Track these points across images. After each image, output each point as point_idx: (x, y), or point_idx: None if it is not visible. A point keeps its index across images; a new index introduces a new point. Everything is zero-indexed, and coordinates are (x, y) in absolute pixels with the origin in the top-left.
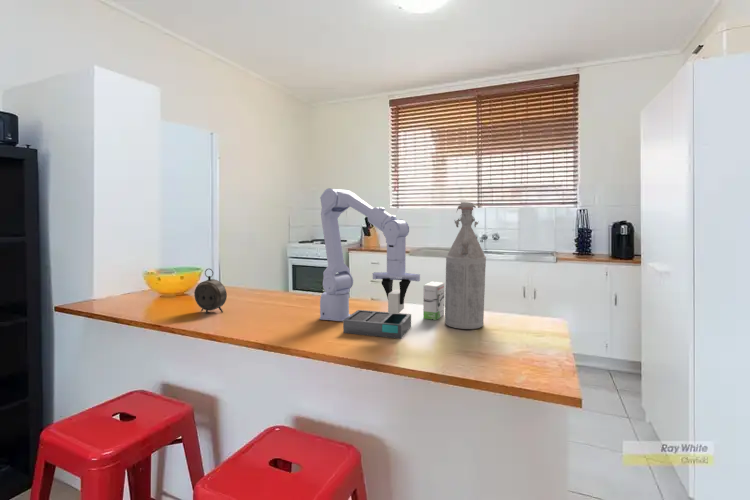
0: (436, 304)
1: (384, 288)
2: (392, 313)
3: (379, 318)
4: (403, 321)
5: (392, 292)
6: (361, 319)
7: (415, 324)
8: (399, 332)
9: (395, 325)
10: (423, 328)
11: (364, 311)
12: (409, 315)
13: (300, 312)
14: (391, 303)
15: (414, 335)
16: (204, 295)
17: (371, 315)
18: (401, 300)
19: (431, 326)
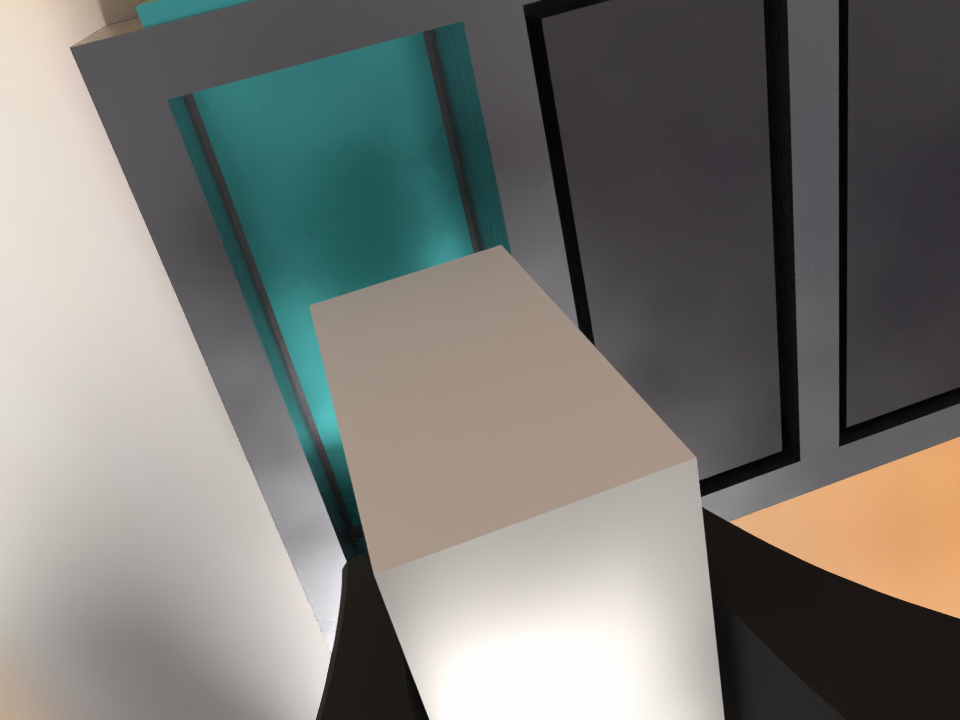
0: None
1: (943, 617)
2: (416, 273)
3: (645, 243)
4: (195, 290)
5: (647, 654)
6: (874, 28)
7: (316, 632)
8: (122, 25)
9: (186, 10)
10: (142, 579)
11: (951, 402)
12: (317, 605)
13: None
14: (496, 356)
15: (49, 283)
16: None
17: (804, 284)
18: (354, 604)
19: (110, 687)
